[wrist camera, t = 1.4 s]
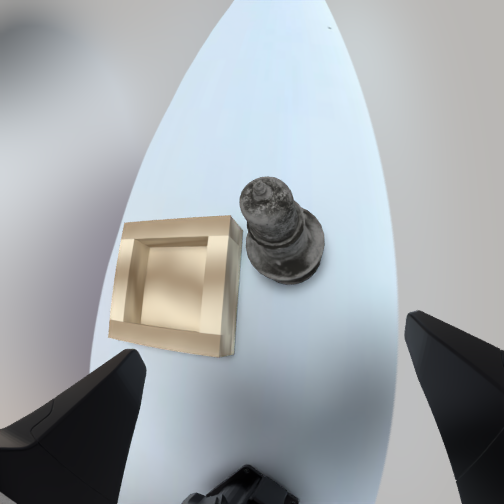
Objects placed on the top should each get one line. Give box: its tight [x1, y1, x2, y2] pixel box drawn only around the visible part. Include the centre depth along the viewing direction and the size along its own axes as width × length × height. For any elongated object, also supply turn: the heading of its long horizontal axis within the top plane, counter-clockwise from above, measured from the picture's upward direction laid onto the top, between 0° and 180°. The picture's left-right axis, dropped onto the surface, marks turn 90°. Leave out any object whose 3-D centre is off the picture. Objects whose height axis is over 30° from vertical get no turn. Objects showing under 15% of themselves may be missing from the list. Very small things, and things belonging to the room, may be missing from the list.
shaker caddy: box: [108, 215, 243, 357], centre depth 24 cm, size 11×11×4 cm
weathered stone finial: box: [240, 177, 325, 285], centre depth 18 cm, size 6×6×12 cm
